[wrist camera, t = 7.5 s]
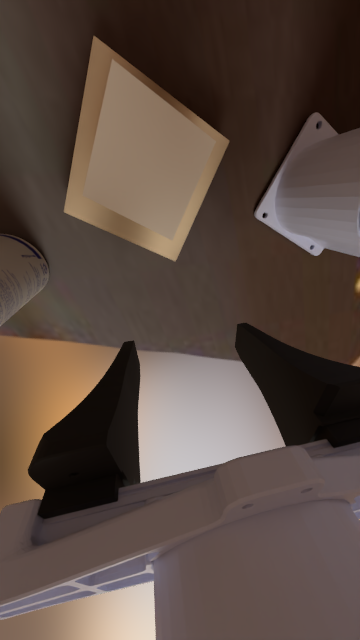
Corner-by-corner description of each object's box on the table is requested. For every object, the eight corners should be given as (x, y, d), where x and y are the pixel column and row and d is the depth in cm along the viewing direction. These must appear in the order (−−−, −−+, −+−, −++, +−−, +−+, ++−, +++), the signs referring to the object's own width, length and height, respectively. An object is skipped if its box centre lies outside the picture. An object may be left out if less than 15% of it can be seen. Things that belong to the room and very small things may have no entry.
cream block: (192, 158, 14) (216, 141, 9) (163, 229, 16) (172, 240, 11) (122, 108, 12) (112, 59, 7) (100, 196, 14) (82, 195, 10)
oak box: (215, 150, 16) (229, 140, 13) (171, 253, 20) (175, 261, 17) (103, 68, 13) (93, 35, 10) (75, 210, 16) (63, 212, 14)
